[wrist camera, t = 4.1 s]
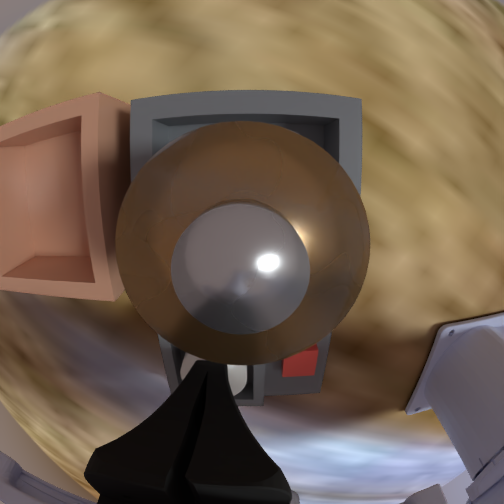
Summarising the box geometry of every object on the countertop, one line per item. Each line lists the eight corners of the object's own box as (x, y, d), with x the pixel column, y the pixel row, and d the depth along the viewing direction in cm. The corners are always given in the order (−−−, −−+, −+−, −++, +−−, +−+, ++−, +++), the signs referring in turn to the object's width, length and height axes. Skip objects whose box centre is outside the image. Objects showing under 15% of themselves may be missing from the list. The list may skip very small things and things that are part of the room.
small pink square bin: (136, 107, 10) (99, 92, 7) (144, 267, 13) (114, 301, 9) (23, 135, 10) (-21, 136, 7) (35, 264, 13) (-3, 289, 9)
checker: (339, 102, 11) (366, 86, 8) (316, 380, 15) (327, 418, 12) (153, 103, 10) (126, 87, 8) (178, 381, 15) (168, 418, 12)
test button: (246, 336, 12) (246, 352, 11) (247, 383, 13) (247, 399, 12) (181, 334, 12) (175, 350, 11) (189, 381, 13) (185, 397, 12)
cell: (298, 148, 10) (395, 127, 3) (295, 249, 11) (359, 380, 4) (193, 149, 10) (87, 130, 3) (197, 249, 11) (127, 379, 4)
